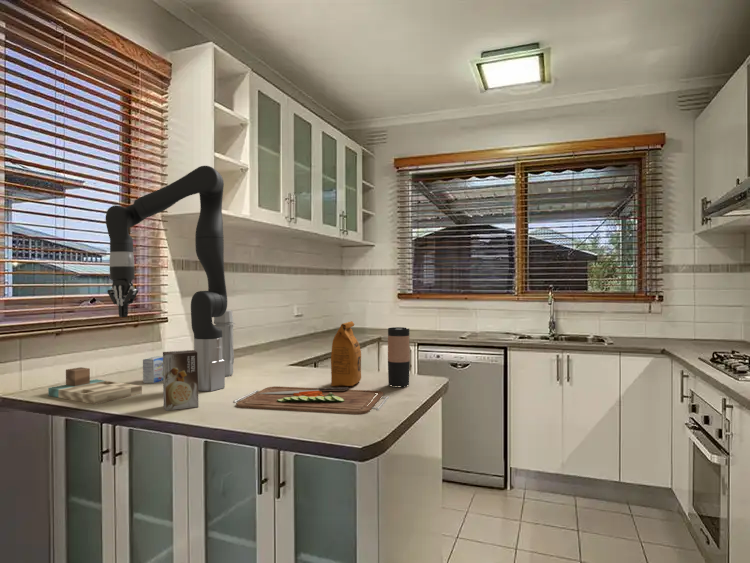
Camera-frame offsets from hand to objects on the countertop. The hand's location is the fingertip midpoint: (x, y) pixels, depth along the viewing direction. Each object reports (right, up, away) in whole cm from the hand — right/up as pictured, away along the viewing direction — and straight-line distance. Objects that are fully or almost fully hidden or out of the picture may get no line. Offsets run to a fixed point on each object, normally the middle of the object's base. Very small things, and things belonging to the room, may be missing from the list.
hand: (123, 317), depth 173 cm
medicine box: (+4, -25, +15) cm, 29 cm away
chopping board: (+66, -25, -15) cm, 72 cm away
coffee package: (+75, -25, +8) cm, 79 cm away
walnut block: (-14, -22, -3) cm, 26 cm away
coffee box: (+28, -25, -23) cm, 44 cm away
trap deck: (-5, -25, -7) cm, 26 cm away
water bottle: (+27, -25, +25) cm, 44 cm away
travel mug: (+93, -25, +6) cm, 97 cm away
